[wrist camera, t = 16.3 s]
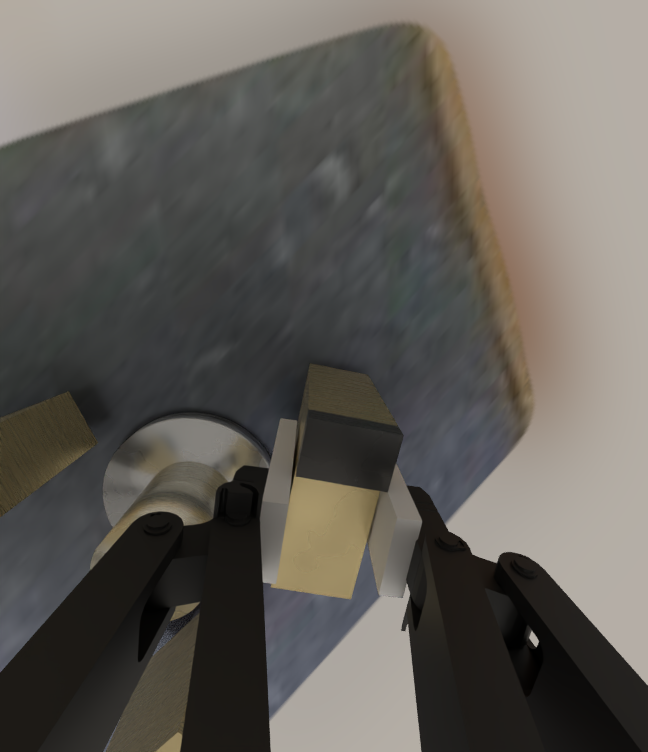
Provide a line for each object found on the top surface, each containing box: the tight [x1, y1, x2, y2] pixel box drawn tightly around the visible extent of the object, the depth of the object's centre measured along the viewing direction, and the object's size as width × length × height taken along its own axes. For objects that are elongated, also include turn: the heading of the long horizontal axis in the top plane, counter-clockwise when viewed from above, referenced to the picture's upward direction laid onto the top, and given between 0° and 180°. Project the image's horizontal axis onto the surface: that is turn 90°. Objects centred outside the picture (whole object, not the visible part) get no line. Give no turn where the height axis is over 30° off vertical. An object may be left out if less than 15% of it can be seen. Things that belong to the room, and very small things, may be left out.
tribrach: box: [90, 412, 271, 621], centre depth 19 cm, size 18×16×8 cm
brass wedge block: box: [106, 613, 200, 752], centre depth 19 cm, size 7×3×8 cm, turn 136°
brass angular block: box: [271, 363, 404, 599], centre depth 16 cm, size 7×3×8 cm, turn 168°
